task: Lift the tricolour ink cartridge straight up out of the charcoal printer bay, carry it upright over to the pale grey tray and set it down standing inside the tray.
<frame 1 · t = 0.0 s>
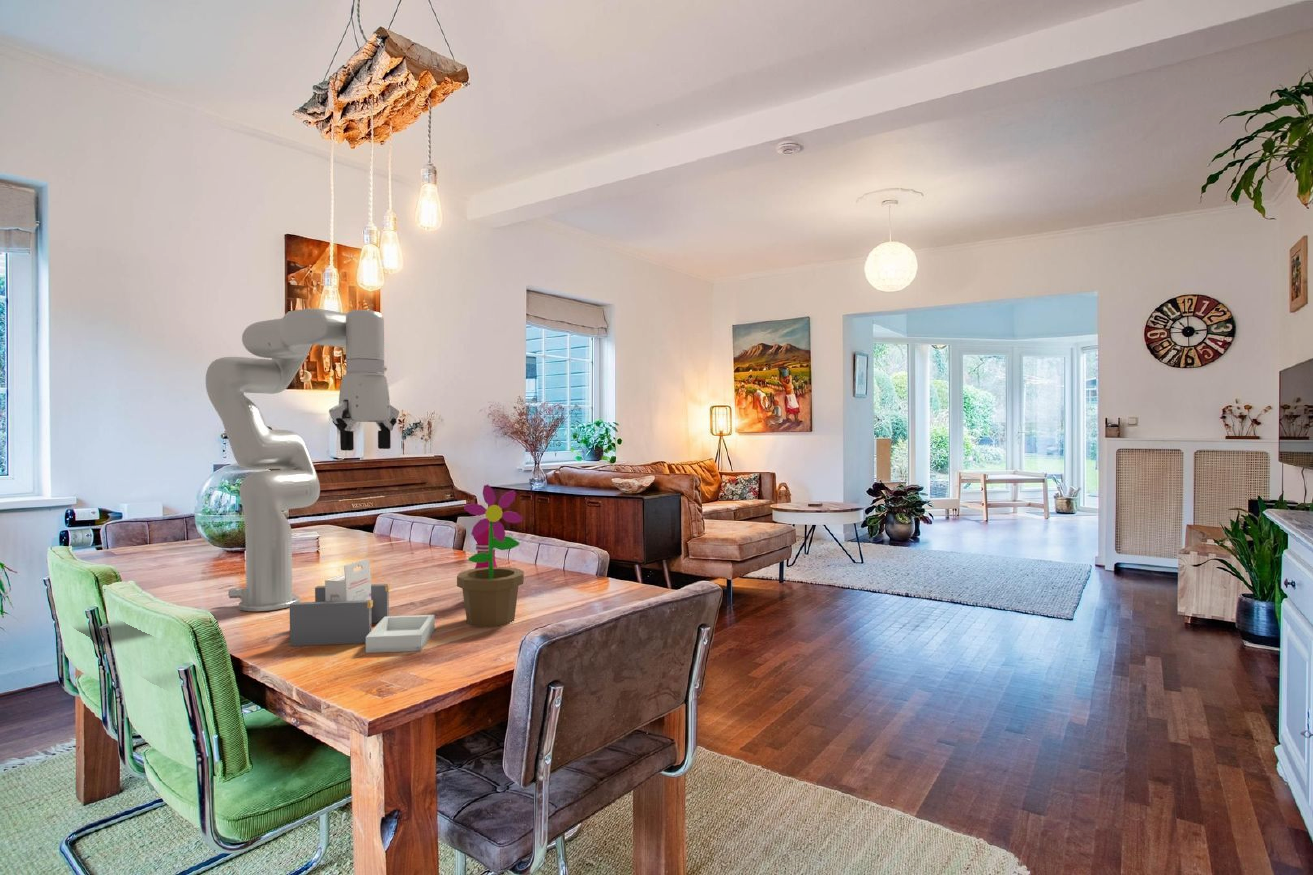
hand: (366, 449, 150), 37 cm above the table, tool pointing down, fingers open, 9 cm apart
flowerpot: (491, 621, 153), on the table
ink cartridge box: (349, 633, 144), on the table
bay: (349, 632, 144), on the table
tray: (402, 640, 139), on the table
pepper mill: (486, 599, 171), on the table
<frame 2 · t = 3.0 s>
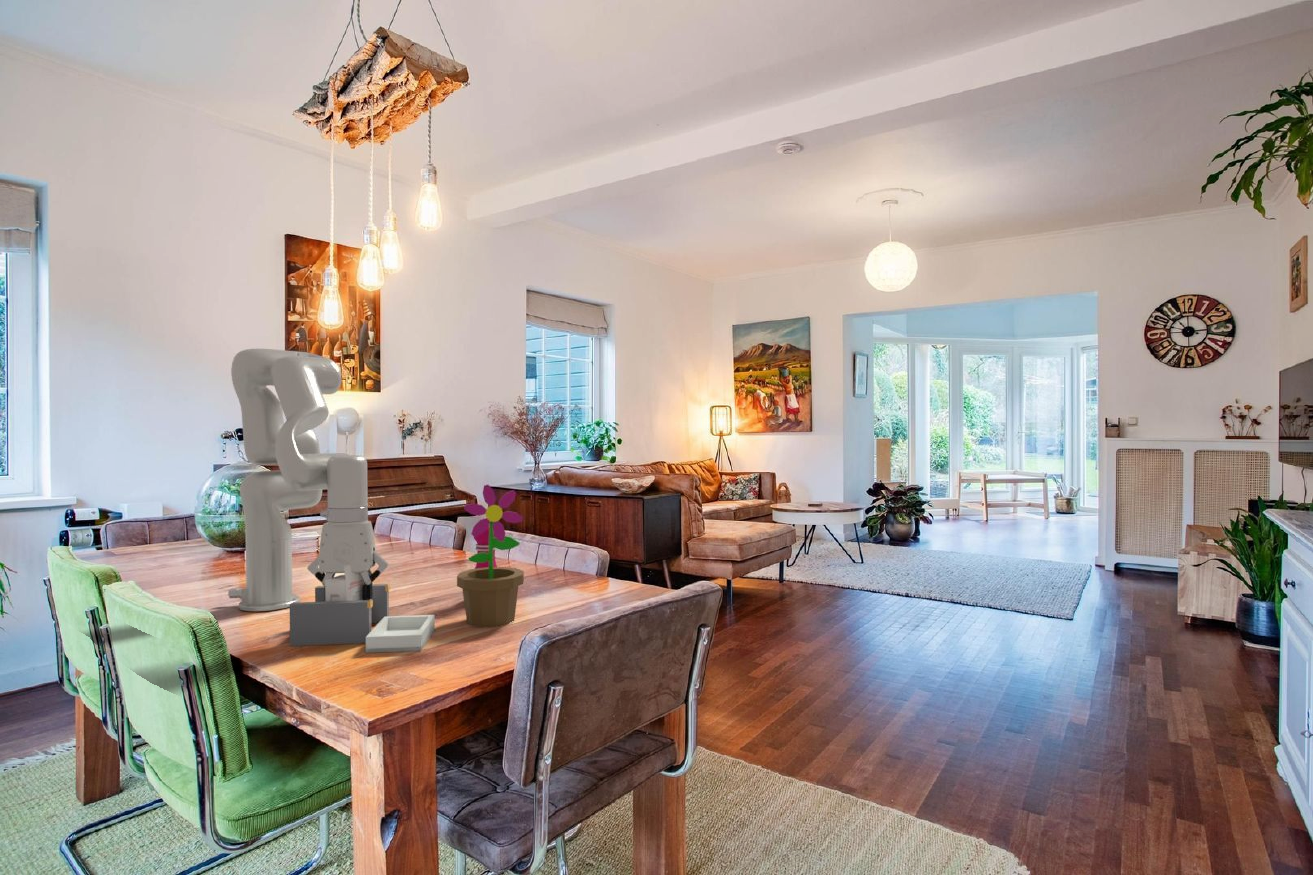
hand: (348, 602, 144), 6 cm above the table, tool pointing down, fingers closed on ink cartridge box, 6 cm apart
ink cartridge box: (349, 633, 144), on the table, touching gripper
everything else where it was.
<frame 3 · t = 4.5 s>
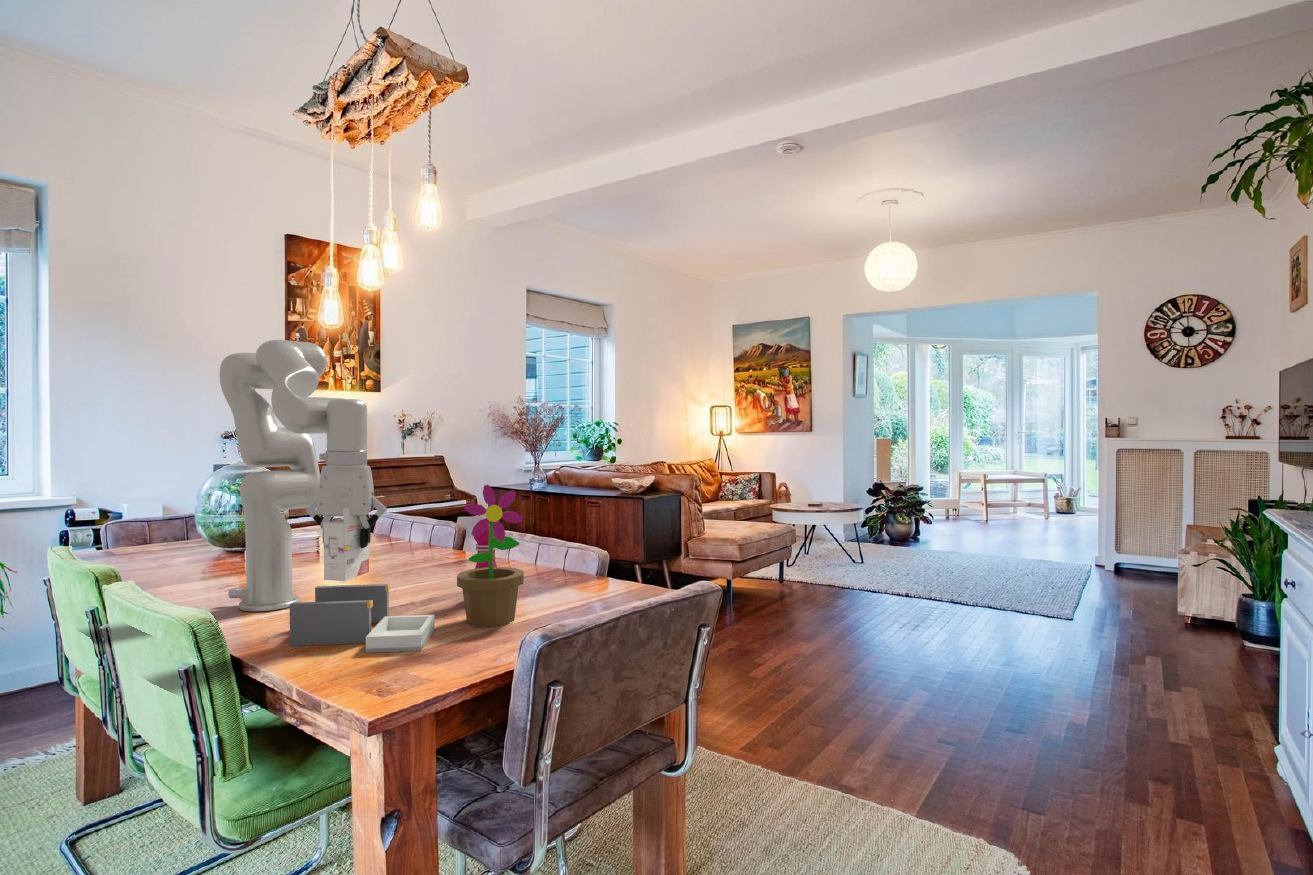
hand: (346, 546, 144), 18 cm above the table, tool pointing down, fingers closed on ink cartridge box, 6 cm apart
ink cartridge box: (346, 577, 144), point 11 cm above the table, touching gripper
everything else where it was.
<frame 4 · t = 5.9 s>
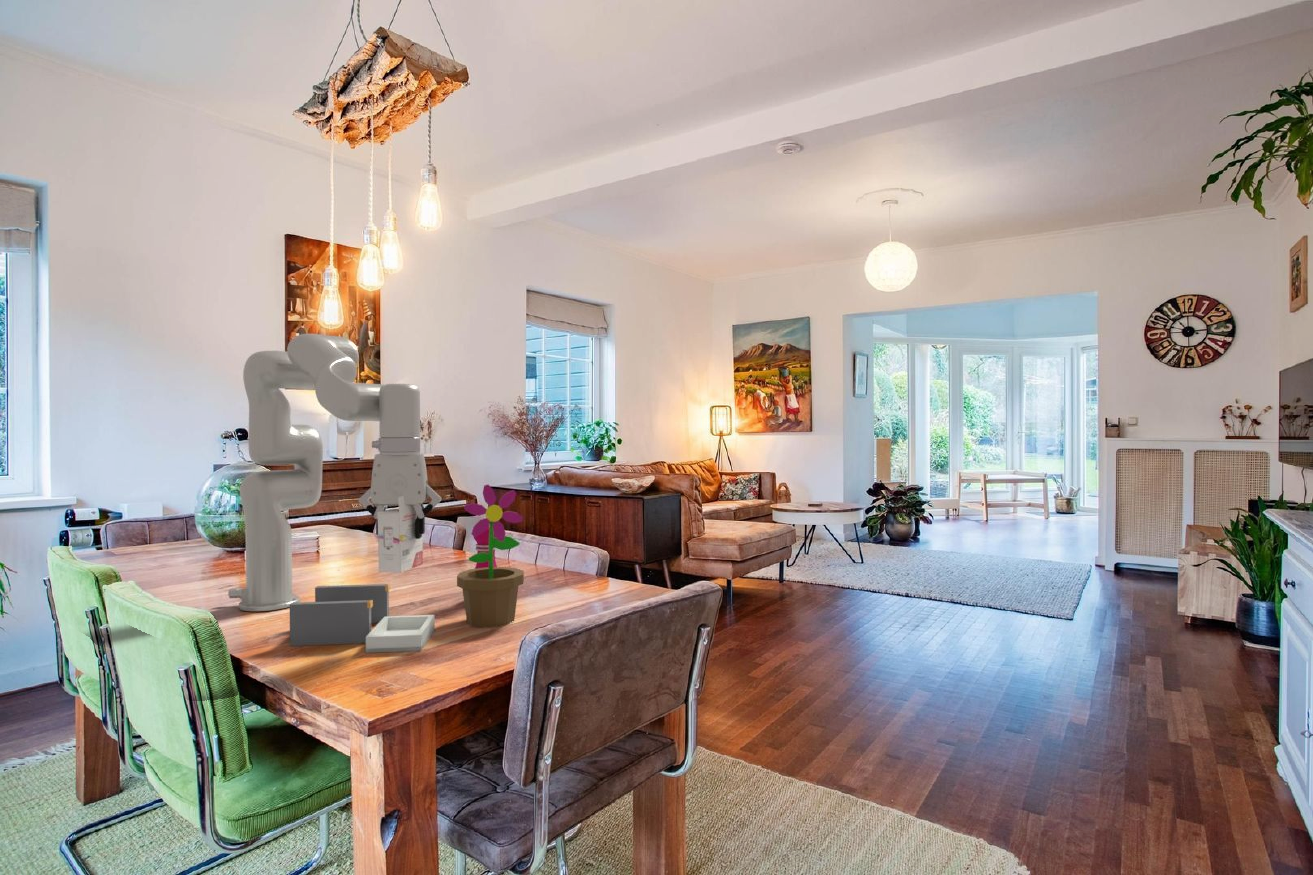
hand: (400, 537, 138), 20 cm above the table, tool pointing down, fingers closed on ink cartridge box, 6 cm apart
ink cartridge box: (400, 569, 138), point 14 cm above the table, touching gripper
everything else where it was.
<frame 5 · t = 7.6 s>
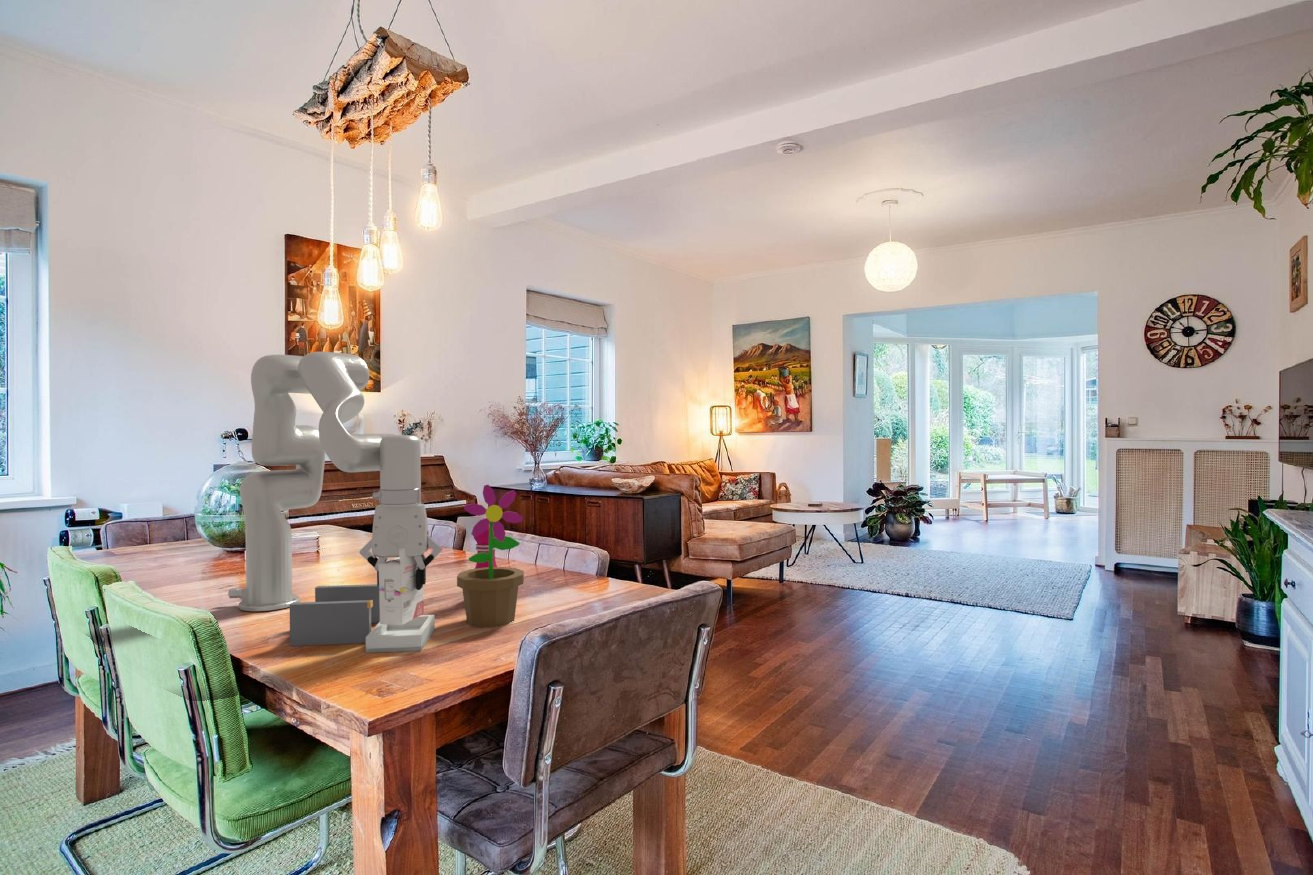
hand: (401, 588, 138), 10 cm above the table, tool pointing down, fingers closed on ink cartridge box, 6 cm apart
ink cartridge box: (401, 620, 139), point 4 cm above the table, touching gripper
everything else where it was.
when the fingers open (8 cm above the table, at t = 8.9 s): ink cartridge box drops 1 cm, resting on tray.
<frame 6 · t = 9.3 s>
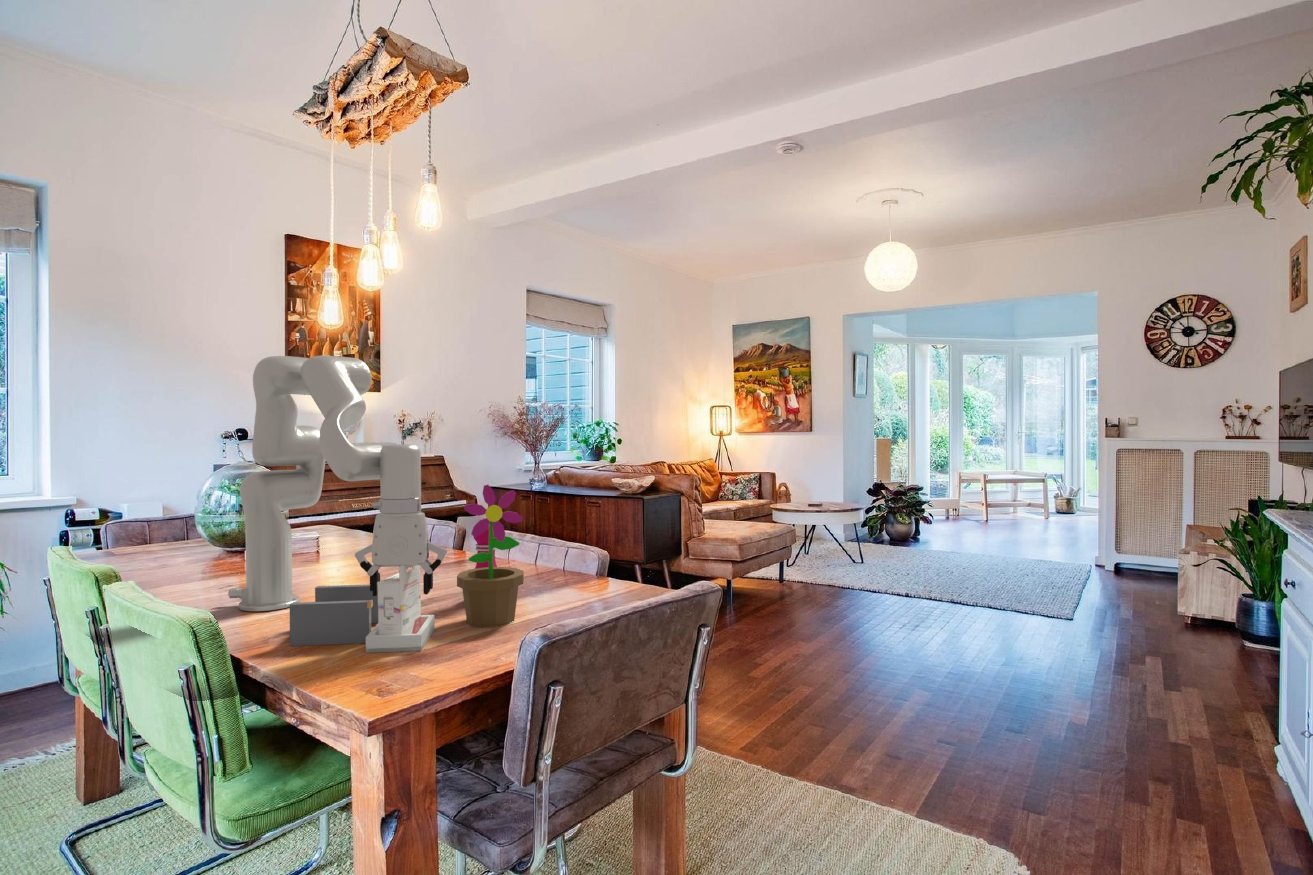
hand: (401, 593, 138), 9 cm above the table, tool pointing down, fingers open, 9 cm apart
ink cartridge box: (399, 637, 139), point 1 cm above the table, touching tray
everything else where it was.
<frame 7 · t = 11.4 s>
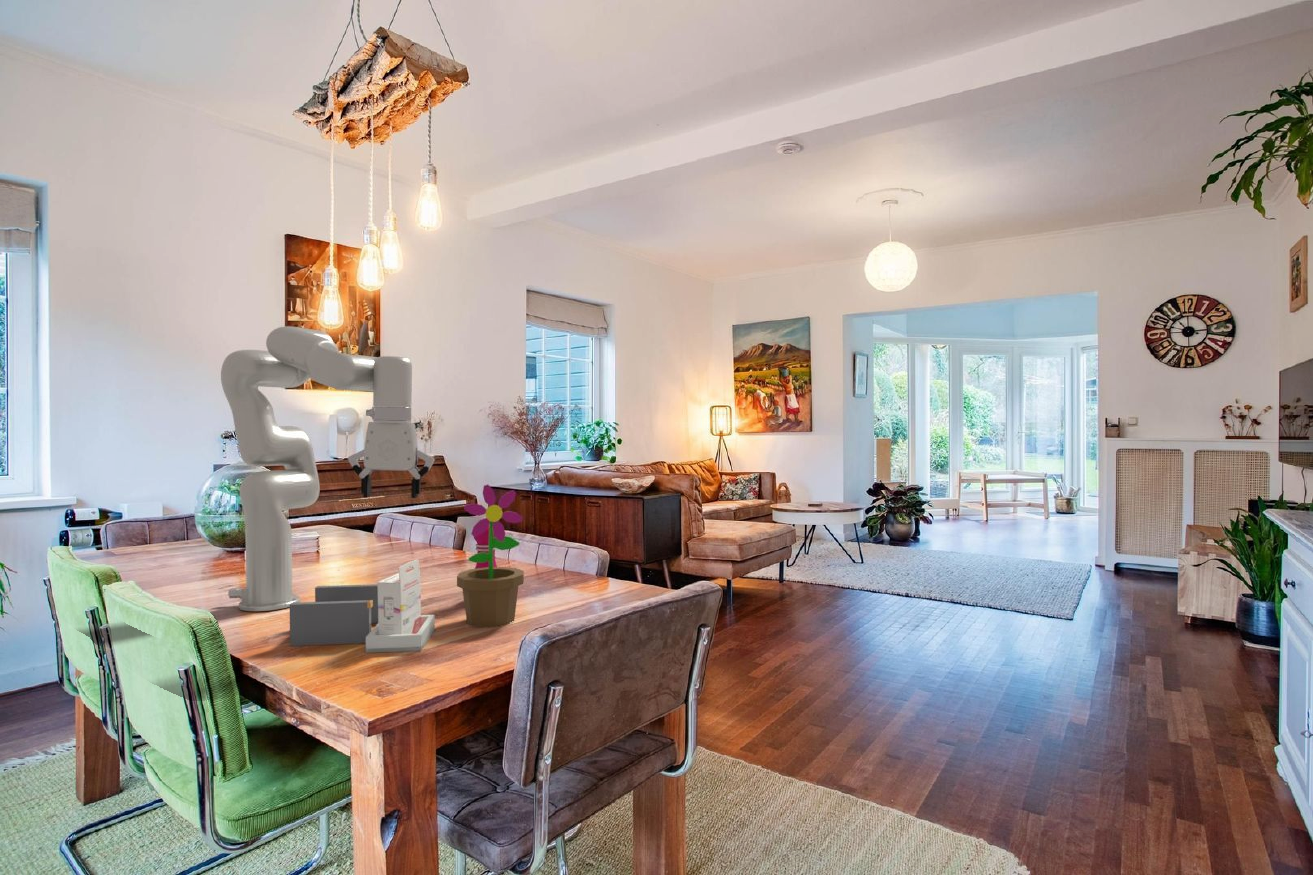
hand: (391, 497, 148), 27 cm above the table, tool pointing down, fingers open, 9 cm apart
nothing on the table moved.
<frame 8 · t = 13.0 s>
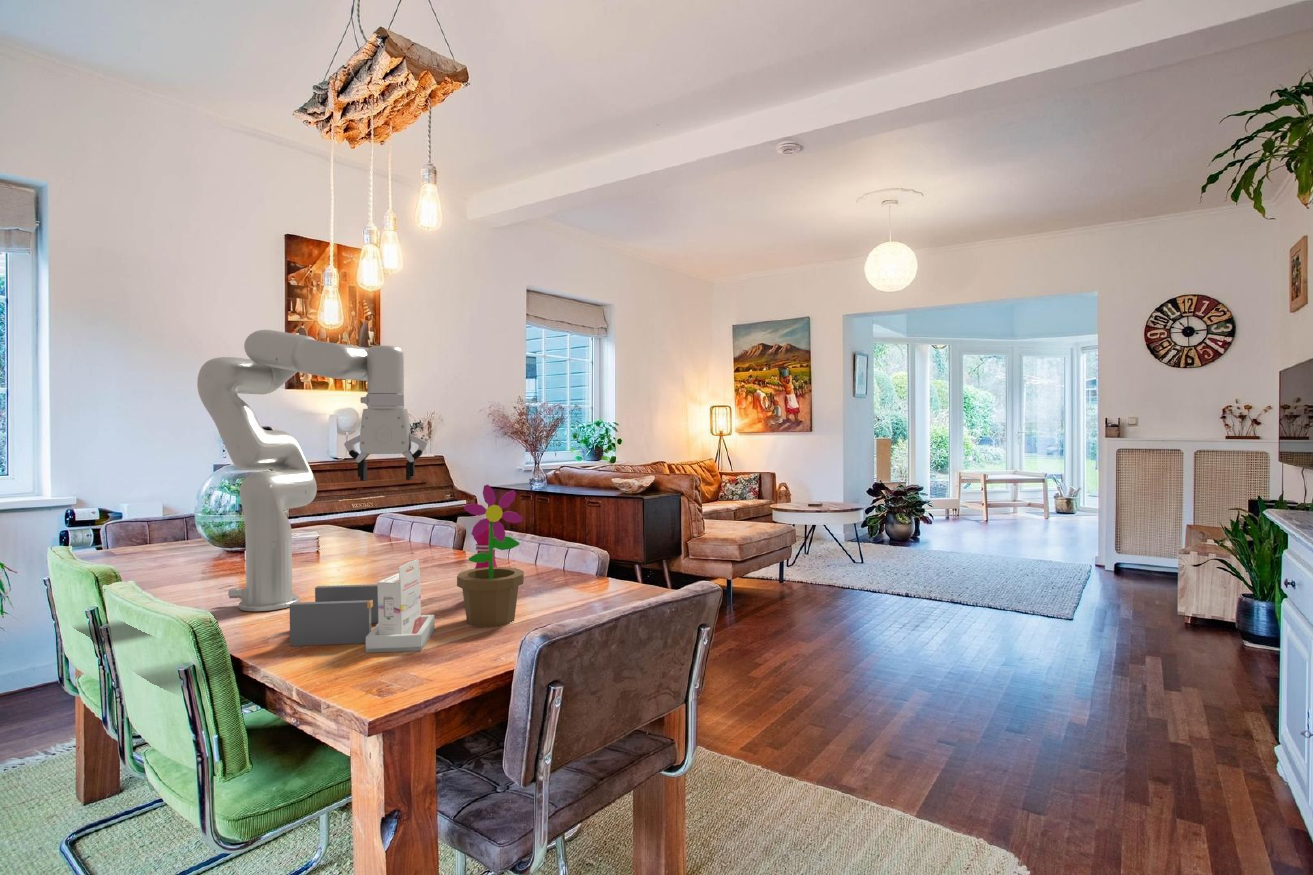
hand: (386, 480, 155), 30 cm above the table, tool pointing down, fingers open, 9 cm apart
nothing on the table moved.
at the end: ink cartridge box inside the target area on the tray (0.5 cm from its centre), point 0.6 cm above the tray's base; ink cartridge box tilted 0°; the gripper is holding nothing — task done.
